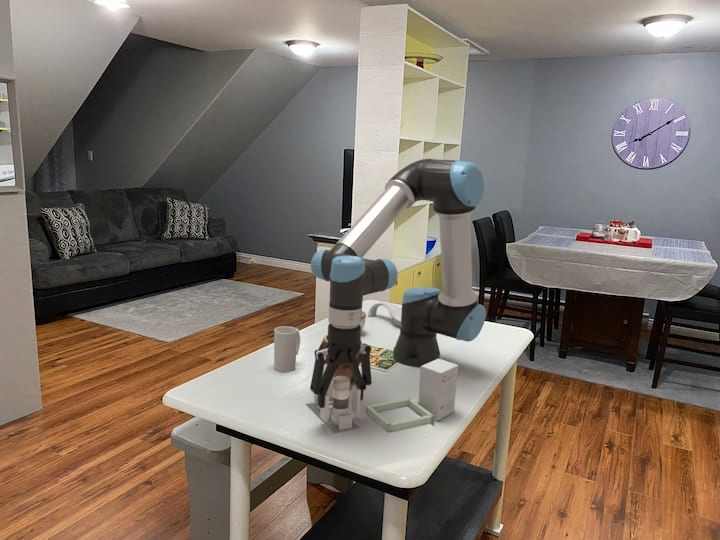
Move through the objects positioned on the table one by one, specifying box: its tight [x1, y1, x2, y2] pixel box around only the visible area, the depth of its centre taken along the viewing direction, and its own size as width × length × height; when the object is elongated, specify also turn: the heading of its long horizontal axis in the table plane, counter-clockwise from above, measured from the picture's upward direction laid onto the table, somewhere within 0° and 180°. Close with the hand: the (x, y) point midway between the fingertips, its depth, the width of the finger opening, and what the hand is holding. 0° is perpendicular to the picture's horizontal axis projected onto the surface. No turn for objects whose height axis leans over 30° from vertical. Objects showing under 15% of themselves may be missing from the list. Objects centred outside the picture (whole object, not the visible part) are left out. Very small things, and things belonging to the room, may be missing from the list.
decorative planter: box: [317, 334, 363, 384], centre depth 158 cm, size 20×12×14 cm, turn 152°
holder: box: [305, 364, 361, 434], centre depth 137 cm, size 7×16×12 cm, turn 29°
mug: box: [273, 325, 301, 373], centre depth 169 cm, size 10×7×12 cm, turn 147°
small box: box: [417, 358, 459, 422], centre depth 144 cm, size 8×6×13 cm
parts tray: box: [365, 397, 435, 433], centre depth 139 cm, size 13×11×3 cm
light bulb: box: [331, 376, 351, 426], centre depth 133 cm, size 4×4×11 cm
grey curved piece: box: [367, 301, 402, 328], centre depth 219 cm, size 24×12×7 cm, turn 51°
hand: (339, 416), depth 134 cm, fingers open, 8 cm apart
